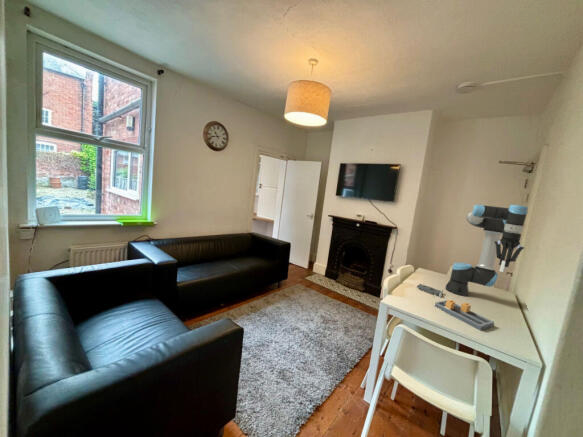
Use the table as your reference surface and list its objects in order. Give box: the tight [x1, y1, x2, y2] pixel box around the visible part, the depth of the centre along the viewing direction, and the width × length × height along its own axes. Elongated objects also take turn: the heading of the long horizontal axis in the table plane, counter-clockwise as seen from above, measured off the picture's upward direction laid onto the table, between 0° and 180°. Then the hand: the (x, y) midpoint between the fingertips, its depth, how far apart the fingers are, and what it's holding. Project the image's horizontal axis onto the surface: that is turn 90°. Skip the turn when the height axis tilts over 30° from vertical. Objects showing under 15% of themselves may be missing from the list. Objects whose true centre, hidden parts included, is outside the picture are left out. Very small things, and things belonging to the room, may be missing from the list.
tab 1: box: [445, 299, 456, 310], centre depth 145 cm, size 4×3×5 cm
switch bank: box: [434, 299, 495, 331], centre depth 142 cm, size 14×26×3 cm, turn 25°
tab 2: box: [460, 302, 472, 313], centre depth 143 cm, size 4×3×5 cm
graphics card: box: [416, 283, 444, 298], centre depth 176 cm, size 17×4×12 cm
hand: (502, 271), depth 133 cm, fingers closed
